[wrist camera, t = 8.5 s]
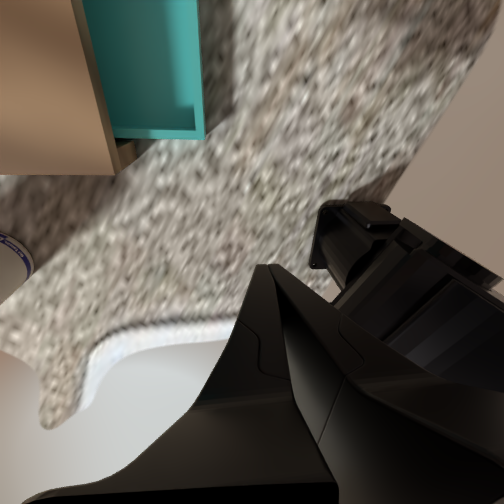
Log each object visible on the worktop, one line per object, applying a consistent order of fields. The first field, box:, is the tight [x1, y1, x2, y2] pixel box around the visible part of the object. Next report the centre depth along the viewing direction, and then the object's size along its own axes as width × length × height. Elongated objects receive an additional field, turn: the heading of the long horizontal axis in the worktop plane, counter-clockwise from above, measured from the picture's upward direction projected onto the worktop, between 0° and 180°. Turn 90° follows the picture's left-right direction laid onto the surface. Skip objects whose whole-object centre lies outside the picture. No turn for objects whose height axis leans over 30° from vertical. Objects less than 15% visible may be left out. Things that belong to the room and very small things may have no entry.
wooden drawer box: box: [0, 0, 137, 175], centre depth 12 cm, size 12×9×5 cm
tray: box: [82, 0, 206, 140], centre depth 13 cm, size 9×12×2 cm
